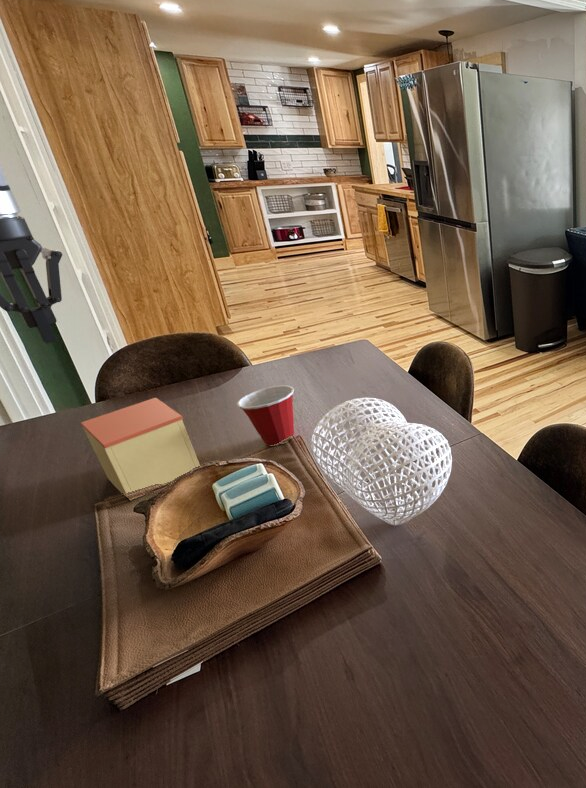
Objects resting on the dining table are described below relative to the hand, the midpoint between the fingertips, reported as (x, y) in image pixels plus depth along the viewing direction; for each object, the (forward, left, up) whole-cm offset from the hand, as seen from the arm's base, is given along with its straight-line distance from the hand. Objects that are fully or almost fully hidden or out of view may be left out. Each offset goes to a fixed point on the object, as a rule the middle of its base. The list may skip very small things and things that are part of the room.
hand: (50, 340), depth 92 cm
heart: (+65, -30, -29) cm, 77 cm away
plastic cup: (+33, +2, -29) cm, 44 cm away
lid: (+13, -7, -16) cm, 22 cm away
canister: (+13, -7, -28) cm, 32 cm away
